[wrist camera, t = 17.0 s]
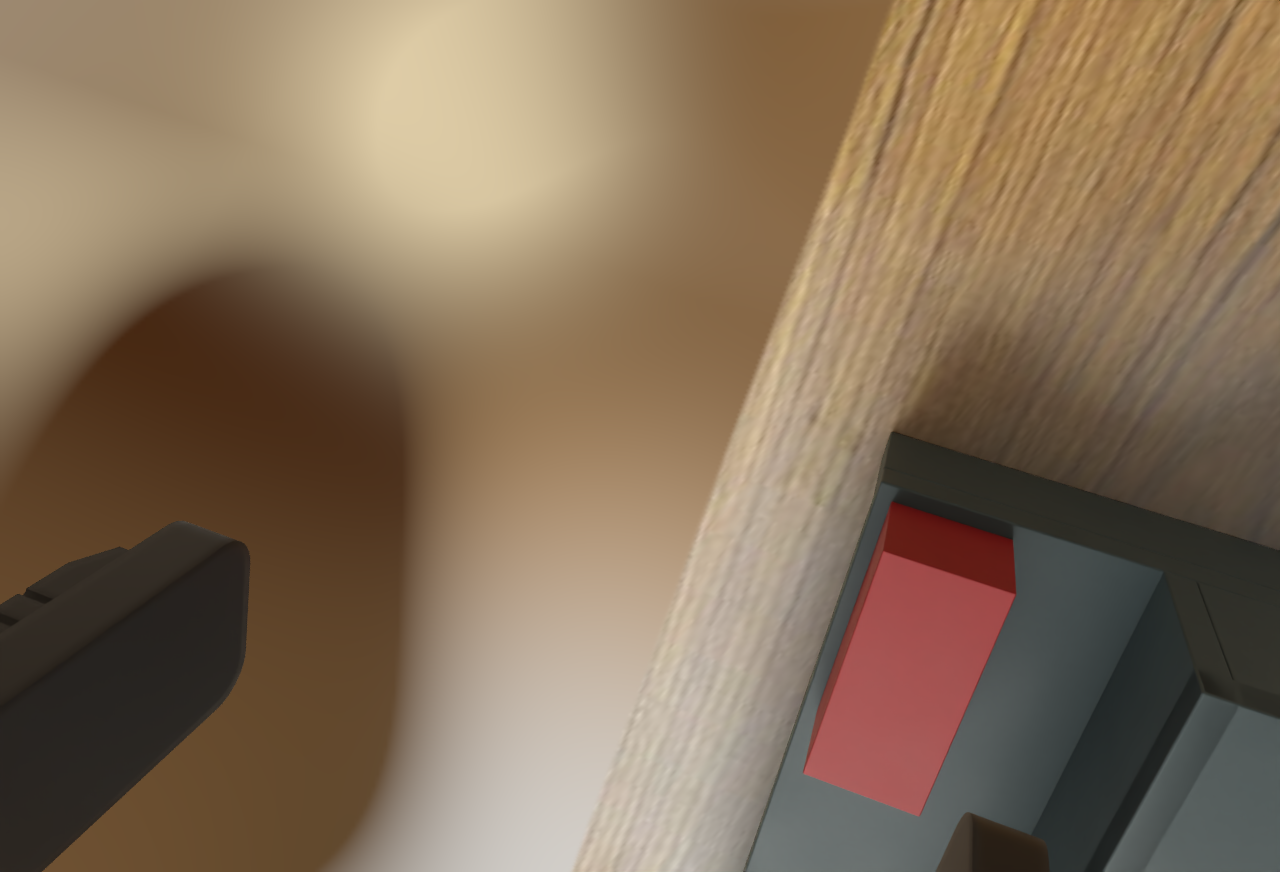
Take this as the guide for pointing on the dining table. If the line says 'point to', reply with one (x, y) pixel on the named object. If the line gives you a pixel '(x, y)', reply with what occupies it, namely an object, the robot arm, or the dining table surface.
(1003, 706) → the shelf
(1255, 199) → the dining table surface
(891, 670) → the red rectangular block
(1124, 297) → the dining table surface
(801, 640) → the dining table surface
